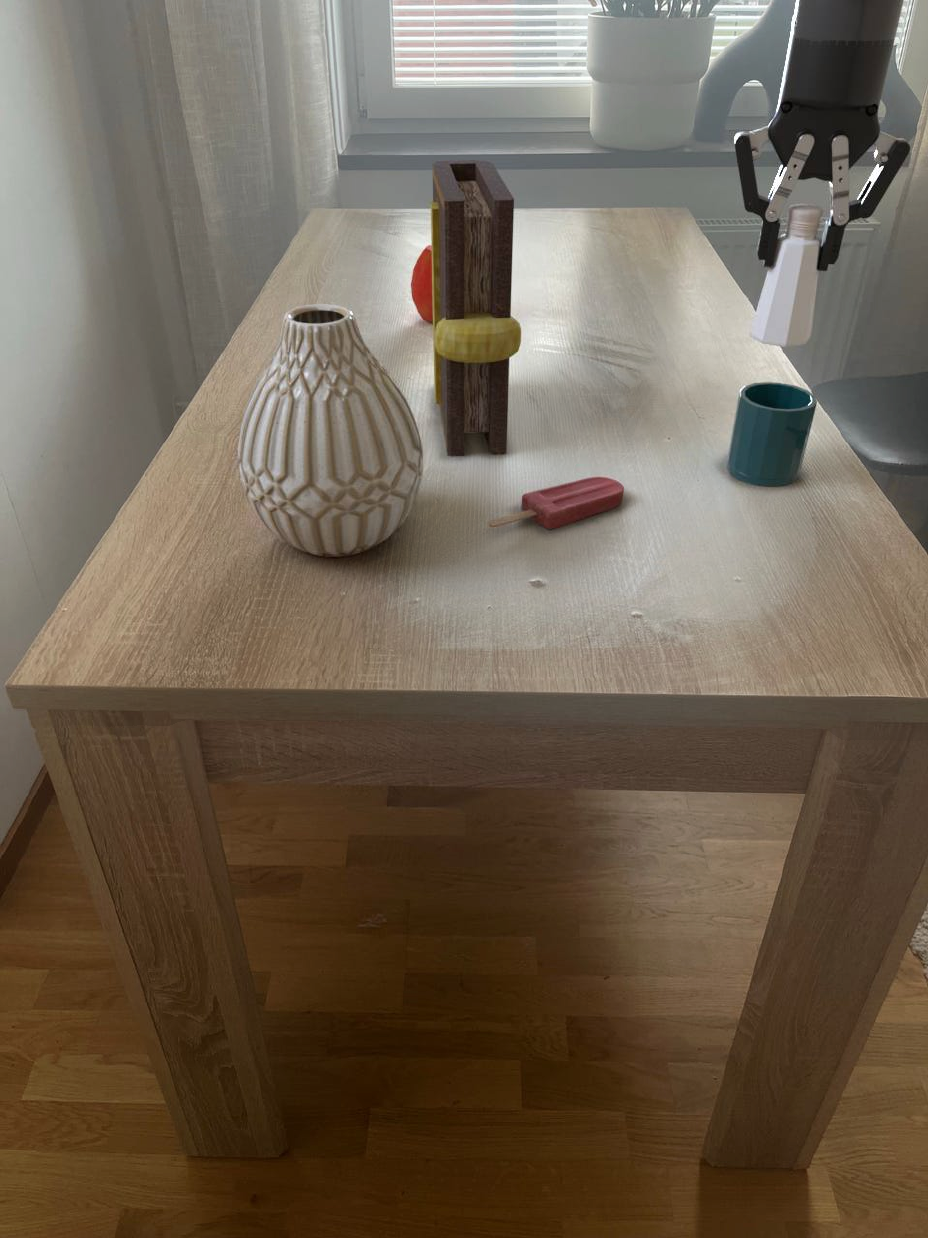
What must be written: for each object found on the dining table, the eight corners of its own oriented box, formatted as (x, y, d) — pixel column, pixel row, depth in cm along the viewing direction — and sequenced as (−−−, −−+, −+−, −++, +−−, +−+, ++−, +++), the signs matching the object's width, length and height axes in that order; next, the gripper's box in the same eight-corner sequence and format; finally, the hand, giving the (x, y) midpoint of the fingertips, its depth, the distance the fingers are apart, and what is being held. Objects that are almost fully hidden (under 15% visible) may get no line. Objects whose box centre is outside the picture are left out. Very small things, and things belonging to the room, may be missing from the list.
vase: (322, 477, 93) (301, 274, 81) (457, 517, 87) (456, 302, 75) (212, 549, 82) (170, 325, 70) (358, 600, 75) (339, 363, 64)
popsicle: (476, 506, 85) (604, 470, 91) (475, 523, 86) (603, 486, 92) (503, 527, 81) (634, 488, 88) (502, 544, 82) (632, 504, 89)
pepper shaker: (804, 327, 85) (832, 199, 79) (816, 348, 81) (847, 214, 74) (744, 326, 86) (767, 198, 79) (753, 346, 81) (779, 213, 75)
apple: (467, 309, 136) (468, 233, 130) (469, 327, 130) (470, 248, 124) (412, 309, 136) (409, 233, 130) (411, 328, 130) (408, 248, 123)
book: (426, 386, 112) (420, 160, 98) (495, 383, 113) (500, 159, 98) (438, 468, 95) (434, 208, 80) (520, 465, 95) (531, 206, 81)
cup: (807, 465, 95) (825, 391, 91) (786, 493, 91) (804, 416, 86) (740, 448, 99) (754, 376, 94) (716, 474, 94) (729, 400, 89)
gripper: (747, 33, 68) (709, 273, 78) (953, 37, 65) (887, 285, 75) (744, 26, 74) (710, 250, 84) (934, 30, 71) (875, 260, 81)
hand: (794, 265), depth 80 cm, fingers closed on pepper shaker, 4 cm apart
